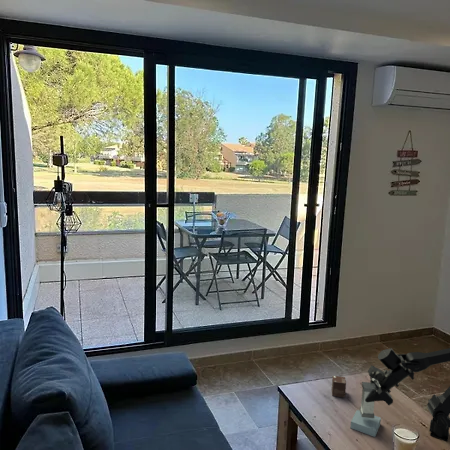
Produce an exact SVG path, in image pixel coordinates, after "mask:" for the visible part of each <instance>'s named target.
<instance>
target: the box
mask: <svg viewBox="0 0 450 450" xmlns="http://www.w3.org/2000/svg"><path fill="white" fill-rule="evenodd" d="M331 378H332V381H331V395H332V397H339V398H346V390H347V381H346V377H345V376H337V375H332V377H331Z"/></svg>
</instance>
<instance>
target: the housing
mask: <svg viewBox="0 0 450 450" xmlns="http://www.w3.org/2000/svg"><path fill="white" fill-rule="evenodd" d="M374 387H375V388H376V386H375V384H374V383H370V382H367V381H361V388H362V390H361V391H362V392H361V402H360V403H361V405H360V406H359V410H360V413H361V416H362V417H365V418H374V416H376V415H375V413H374V411H375V401H374V402H366V401H365V400H366V399H367V398H368V397H369V396H370V395H371V394H372V393H373V392H374ZM376 389H377V388H376Z"/></svg>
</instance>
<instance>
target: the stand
mask: <svg viewBox="0 0 450 450" xmlns="http://www.w3.org/2000/svg"><path fill="white" fill-rule="evenodd" d="M381 421H382V417H380V416H377V415H375V416H374V418H365V417H362V416H361V413H360V409H356V411H355V413H354V414H353V417H352V419H351V421H350V429H352V430H355V431H358V432H361V433H363V434H365V435H368V436H371V437H374V438H375V437H376V436H377V433H378V431H379V428H380V426H381Z"/></svg>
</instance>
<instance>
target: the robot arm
mask: <svg viewBox="0 0 450 450" xmlns="http://www.w3.org/2000/svg"><path fill="white" fill-rule="evenodd" d="M377 359H378V360H379V361H380V362H381V363H382V364H383V366H385V368H386V369H384V370H381V369H379V368H378V367H376V366H375V365H370V367H369V369H368V370H367V373H368V376H369V380H370V383H374V384H375V386H376V388H377V389H376V388H375V387H374V392H373V393H372V394H371V395H370V396H369V397H368V398H367V399H366V400H365V401H366V402H374V403H375V402H384V403H385V404H386V405H387V406H391V405H393V403H394V399H393V397H392V395H391V392H392V391H391V390H392V389H393V388H394V387H396V388H398V387H399V386H400V385H399V384H400V383H401V382H402V381H403V380H405V379H407V378H408V377H409V378H411V380H414V379H415V377H414V375H415V373H419V372H422V371H425V370H427V369H428V368H429V367H430V366H434V365H439V364H443V363H449V362H450V347H449V348H444V349H439V350H436V351H435V350H434V351H431V352H430V351H429V352H420V351H414V352H413V351H412V352H408V353H402V354H401V353H400V354H398V353H396V352H395V351H394V349H393V348H392V347H390V348H389V349H388V348H387V349H384V350H383V349H382V350H381V351H380V352H379V353H378V356H377ZM426 406H427V409H428V412H429V413H430V415H431V416H432V419H430V424H429V432H430V433H429V436H431V437H433V438H436V439H440V440H442V441H444V442H449V434H450V432H449V431H450V386H449V387H448V388H447V389H446V390H445V391H444V392H442V394H441V395H436V394H433V395H432V397H430V398H429V399H428V400H427V404H426Z"/></svg>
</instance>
